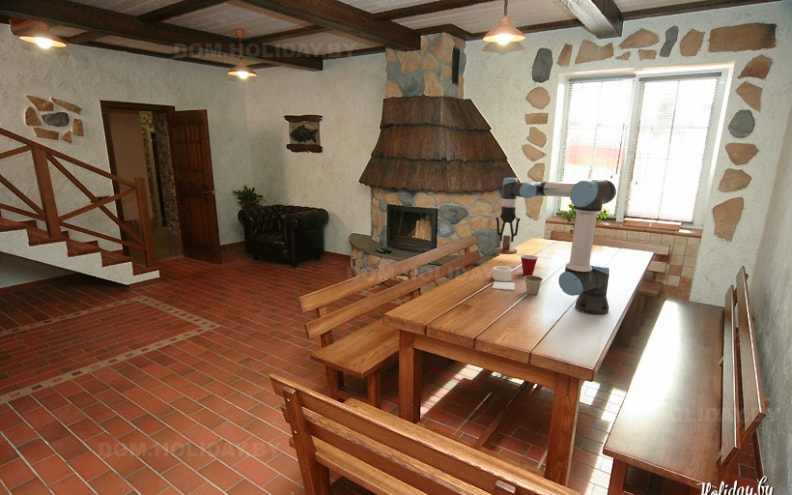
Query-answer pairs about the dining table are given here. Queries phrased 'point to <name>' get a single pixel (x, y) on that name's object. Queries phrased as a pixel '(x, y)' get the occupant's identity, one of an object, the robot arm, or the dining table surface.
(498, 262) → the dining table surface
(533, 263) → the plastic cup
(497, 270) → the bowl
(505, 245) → the lid
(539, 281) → the flower pot
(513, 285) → the mat
